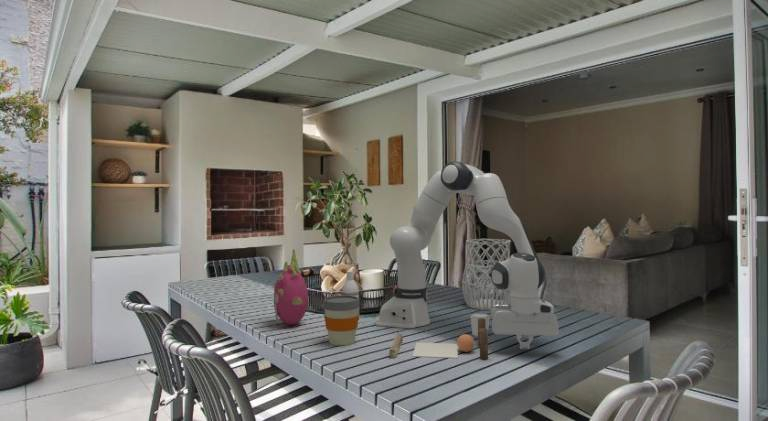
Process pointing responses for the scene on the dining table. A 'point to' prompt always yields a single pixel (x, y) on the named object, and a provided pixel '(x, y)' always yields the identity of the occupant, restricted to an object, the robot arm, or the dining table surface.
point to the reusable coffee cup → (341, 319)
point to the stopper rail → (396, 345)
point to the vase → (483, 276)
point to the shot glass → (475, 322)
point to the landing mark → (436, 350)
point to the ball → (465, 343)
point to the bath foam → (350, 286)
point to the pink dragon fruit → (290, 294)
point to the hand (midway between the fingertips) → (524, 348)
